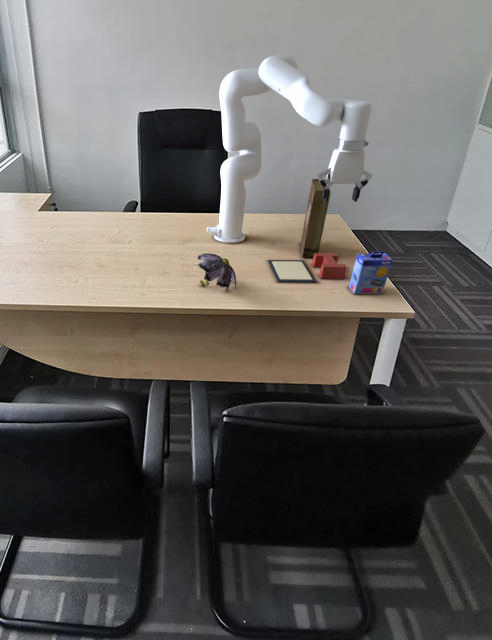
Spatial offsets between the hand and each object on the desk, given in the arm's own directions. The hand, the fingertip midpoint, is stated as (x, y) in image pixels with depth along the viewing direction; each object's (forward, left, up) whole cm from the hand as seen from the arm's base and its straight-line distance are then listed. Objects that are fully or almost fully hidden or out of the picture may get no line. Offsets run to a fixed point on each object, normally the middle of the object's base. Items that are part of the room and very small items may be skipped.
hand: (339, 200), depth 161 cm
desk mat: (-13, -2, -25) cm, 28 cm away
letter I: (0, -2, -25) cm, 25 cm away
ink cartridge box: (+9, -17, -25) cm, 31 cm away
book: (-2, +17, -25) cm, 30 cm away
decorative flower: (-41, -14, -25) cm, 50 cm away
